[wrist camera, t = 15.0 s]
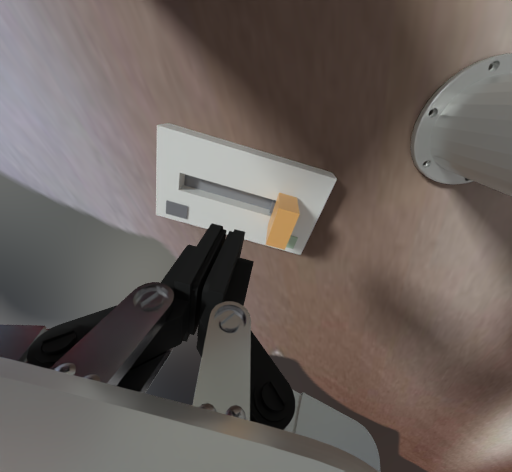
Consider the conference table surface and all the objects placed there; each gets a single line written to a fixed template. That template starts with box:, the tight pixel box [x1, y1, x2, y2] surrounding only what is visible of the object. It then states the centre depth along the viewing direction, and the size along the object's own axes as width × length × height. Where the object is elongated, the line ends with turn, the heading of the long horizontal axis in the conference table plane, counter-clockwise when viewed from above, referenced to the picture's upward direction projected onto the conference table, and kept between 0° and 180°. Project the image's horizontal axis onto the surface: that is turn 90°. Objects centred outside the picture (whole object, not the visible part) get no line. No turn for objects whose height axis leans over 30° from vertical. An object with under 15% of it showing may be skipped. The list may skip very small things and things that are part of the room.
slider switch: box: [156, 123, 337, 255], centre depth 30 cm, size 22×12×3 cm, turn 75°
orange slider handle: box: [266, 193, 300, 250], centre depth 28 cm, size 3×5×7 cm, turn 164°
